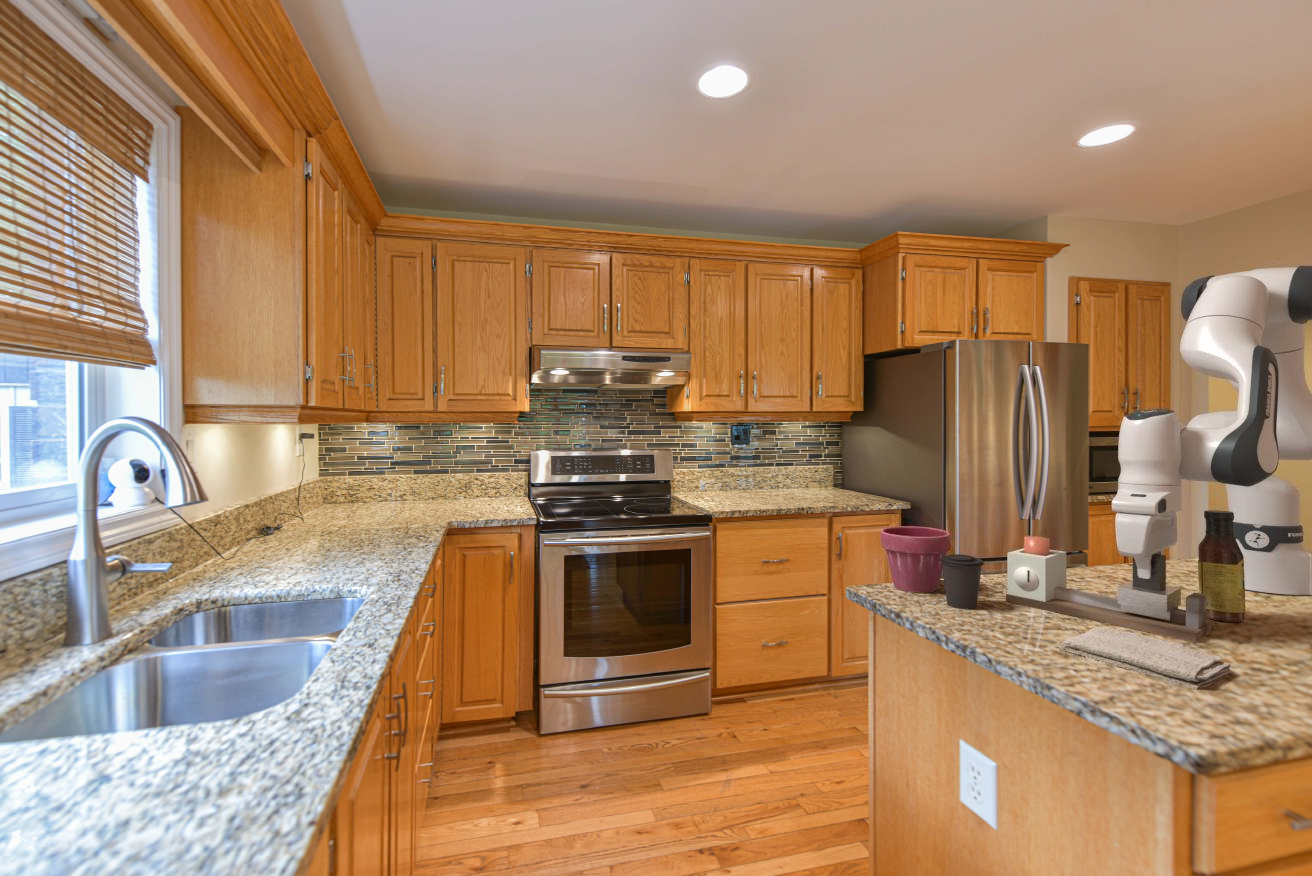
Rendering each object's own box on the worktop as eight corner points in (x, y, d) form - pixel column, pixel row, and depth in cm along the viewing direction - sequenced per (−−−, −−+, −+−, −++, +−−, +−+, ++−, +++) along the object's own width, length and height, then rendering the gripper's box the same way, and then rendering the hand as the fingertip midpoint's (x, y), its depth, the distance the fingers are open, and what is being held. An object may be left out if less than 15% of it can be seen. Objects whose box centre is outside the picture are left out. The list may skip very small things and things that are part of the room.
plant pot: (880, 592, 130) (879, 534, 130) (881, 577, 143) (881, 524, 143) (953, 599, 124) (953, 538, 124) (948, 583, 137) (947, 527, 137)
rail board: (1029, 592, 129) (1029, 562, 128) (1213, 628, 104) (1214, 592, 104) (1005, 601, 122) (1005, 570, 122) (1196, 642, 98) (1196, 603, 98)
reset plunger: (1029, 561, 125) (1029, 535, 125) (1053, 565, 122) (1053, 538, 122) (1020, 564, 123) (1020, 537, 123) (1044, 568, 119) (1044, 540, 119)
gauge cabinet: (1029, 593, 128) (1029, 546, 128) (1066, 600, 122) (1066, 552, 122) (1006, 601, 122) (1006, 553, 122) (1044, 609, 116) (1044, 558, 116)
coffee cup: (983, 613, 114) (983, 561, 114) (937, 607, 119) (936, 557, 119) (985, 603, 121) (985, 554, 121) (941, 597, 126) (941, 550, 125)
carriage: (1132, 604, 113) (1132, 548, 112) (1180, 613, 107) (1180, 554, 107) (1117, 612, 108) (1117, 554, 108) (1166, 622, 102) (1167, 560, 102)
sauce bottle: (1254, 624, 107) (1255, 514, 106) (1214, 622, 108) (1214, 513, 108) (1227, 613, 113) (1227, 509, 113) (1189, 612, 114) (1189, 508, 114)
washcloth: (1203, 696, 80) (1203, 673, 80) (1057, 653, 95) (1057, 634, 95) (1234, 676, 86) (1235, 655, 86) (1092, 639, 101) (1092, 621, 101)
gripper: (1145, 493, 116) (1145, 564, 116) (1107, 502, 104) (1107, 581, 104) (1188, 496, 111) (1188, 570, 111) (1153, 505, 99) (1153, 588, 99)
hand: (1149, 575), depth 107 cm, fingers closed on carriage, 3 cm apart
